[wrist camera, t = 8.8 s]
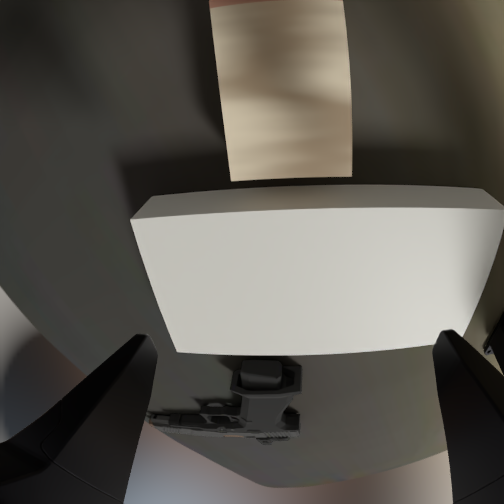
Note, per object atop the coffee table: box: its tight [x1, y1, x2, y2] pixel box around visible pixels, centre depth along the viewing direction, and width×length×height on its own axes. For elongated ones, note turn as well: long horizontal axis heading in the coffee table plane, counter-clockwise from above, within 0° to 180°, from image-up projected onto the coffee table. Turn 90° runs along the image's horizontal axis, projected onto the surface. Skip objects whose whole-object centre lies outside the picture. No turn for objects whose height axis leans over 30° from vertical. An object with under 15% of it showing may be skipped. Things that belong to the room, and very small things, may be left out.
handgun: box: [149, 360, 302, 445], centre depth 28 cm, size 3×21×15 cm
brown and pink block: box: [209, 0, 352, 181], centre depth 12 cm, size 5×4×8 cm
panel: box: [130, 185, 504, 355], centre depth 17 cm, size 20×10×3 cm, turn 96°
